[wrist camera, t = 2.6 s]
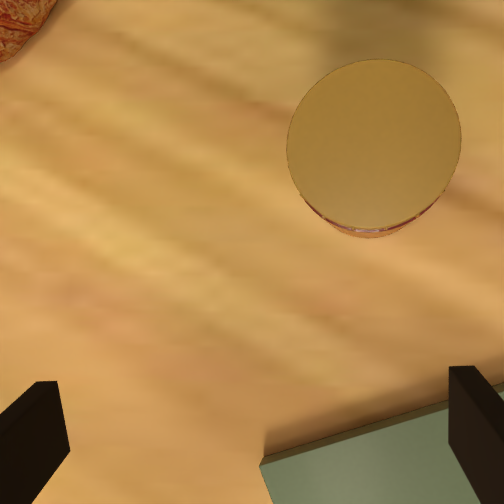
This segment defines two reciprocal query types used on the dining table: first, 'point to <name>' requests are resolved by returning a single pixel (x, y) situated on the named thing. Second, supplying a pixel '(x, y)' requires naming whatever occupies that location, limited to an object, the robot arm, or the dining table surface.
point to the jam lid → (373, 144)
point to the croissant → (20, 23)
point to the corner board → (375, 464)
